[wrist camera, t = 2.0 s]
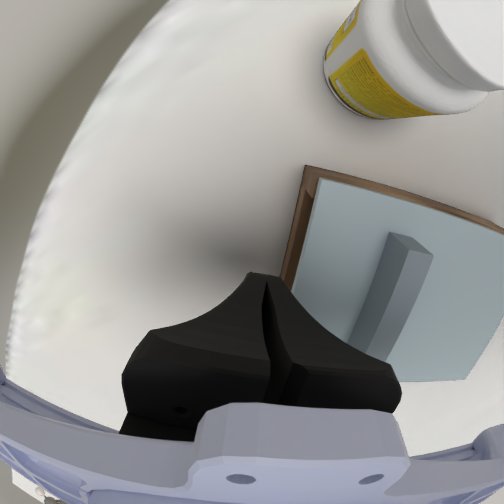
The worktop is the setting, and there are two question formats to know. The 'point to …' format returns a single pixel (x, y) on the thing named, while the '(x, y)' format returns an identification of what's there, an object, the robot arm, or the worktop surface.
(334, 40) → the supplement bottle
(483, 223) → the case
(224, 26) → the worktop surface
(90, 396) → the worktop surface
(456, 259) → the lid
